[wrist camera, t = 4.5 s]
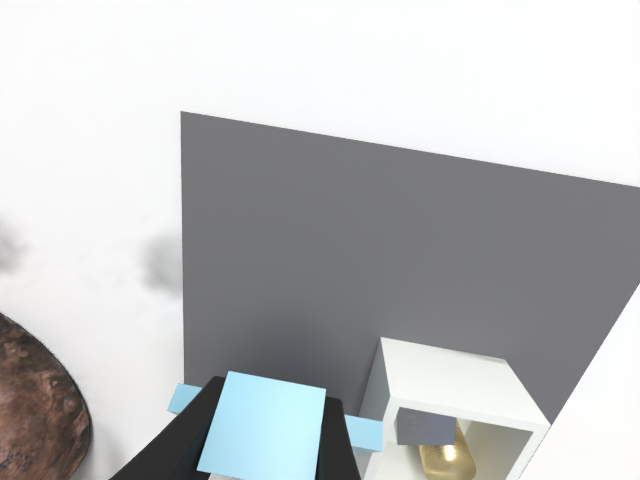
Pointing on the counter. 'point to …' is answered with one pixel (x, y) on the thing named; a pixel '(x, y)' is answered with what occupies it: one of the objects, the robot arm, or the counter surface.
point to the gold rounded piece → (448, 459)
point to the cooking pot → (37, 411)
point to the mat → (392, 260)
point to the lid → (270, 429)
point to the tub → (450, 409)
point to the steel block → (423, 428)
